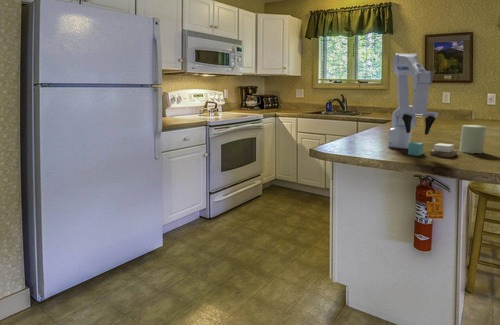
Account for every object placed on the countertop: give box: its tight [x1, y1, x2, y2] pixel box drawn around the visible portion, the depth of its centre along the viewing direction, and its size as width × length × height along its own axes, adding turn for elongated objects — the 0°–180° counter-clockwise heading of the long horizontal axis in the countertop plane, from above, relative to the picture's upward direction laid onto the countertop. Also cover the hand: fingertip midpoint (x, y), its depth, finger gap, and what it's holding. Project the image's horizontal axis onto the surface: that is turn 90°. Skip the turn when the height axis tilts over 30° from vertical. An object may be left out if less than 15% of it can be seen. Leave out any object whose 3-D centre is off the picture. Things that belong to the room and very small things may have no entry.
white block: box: [433, 142, 455, 152], centre depth 156 cm, size 6×6×2 cm
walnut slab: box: [429, 149, 458, 158], centre depth 157 cm, size 8×8×2 cm
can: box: [459, 124, 487, 154], centre depth 163 cm, size 9×9×12 cm
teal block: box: [407, 141, 425, 157], centre depth 158 cm, size 4×4×5 cm
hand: (417, 133), depth 156 cm, fingers open, 7 cm apart
